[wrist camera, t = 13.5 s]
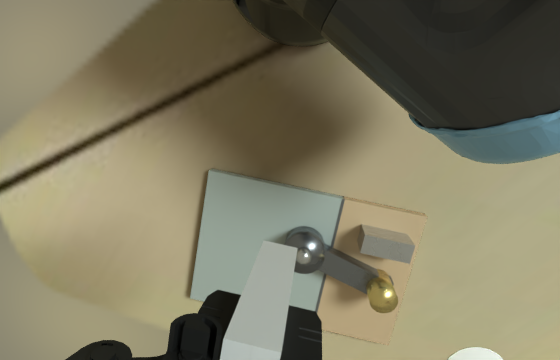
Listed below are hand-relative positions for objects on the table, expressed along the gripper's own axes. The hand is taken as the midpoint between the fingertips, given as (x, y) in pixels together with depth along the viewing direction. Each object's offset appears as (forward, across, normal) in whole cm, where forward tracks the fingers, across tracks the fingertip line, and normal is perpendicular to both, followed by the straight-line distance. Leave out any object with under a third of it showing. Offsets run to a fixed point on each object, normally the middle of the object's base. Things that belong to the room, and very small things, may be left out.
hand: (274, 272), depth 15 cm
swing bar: (+23, +6, -9) cm, 25 cm away
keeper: (+23, +10, -5) cm, 26 cm away
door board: (+24, +2, -10) cm, 26 cm away
